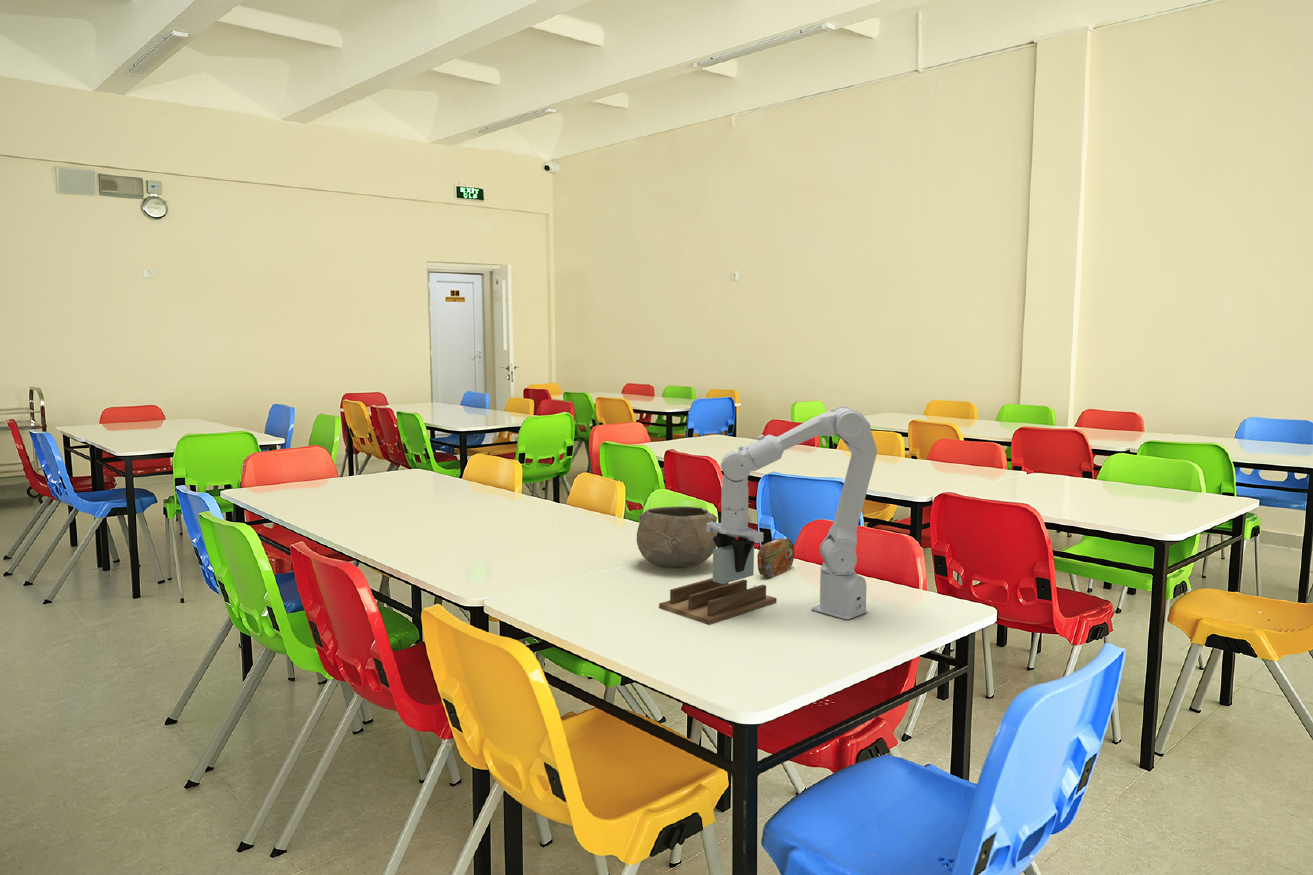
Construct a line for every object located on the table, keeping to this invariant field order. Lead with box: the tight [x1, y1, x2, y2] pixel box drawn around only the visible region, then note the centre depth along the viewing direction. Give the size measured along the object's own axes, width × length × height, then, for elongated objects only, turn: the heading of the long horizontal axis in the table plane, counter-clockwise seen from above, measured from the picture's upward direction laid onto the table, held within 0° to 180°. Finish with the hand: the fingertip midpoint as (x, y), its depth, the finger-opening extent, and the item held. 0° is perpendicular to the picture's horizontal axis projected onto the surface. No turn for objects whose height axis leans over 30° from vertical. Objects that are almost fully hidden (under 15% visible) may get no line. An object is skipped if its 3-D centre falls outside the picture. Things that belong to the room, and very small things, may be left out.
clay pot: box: [636, 506, 718, 569], centre depth 219 cm, size 21×21×15 cm
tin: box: [756, 537, 795, 579], centre depth 214 cm, size 15×3×8 cm, turn 143°
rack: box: [658, 577, 778, 626], centre depth 188 cm, size 15×22×4 cm
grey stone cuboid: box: [712, 544, 755, 584], centre depth 183 cm, size 3×10×7 cm, turn 134°
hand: (733, 569), depth 184 cm, fingers closed on grey stone cuboid, 3 cm apart
